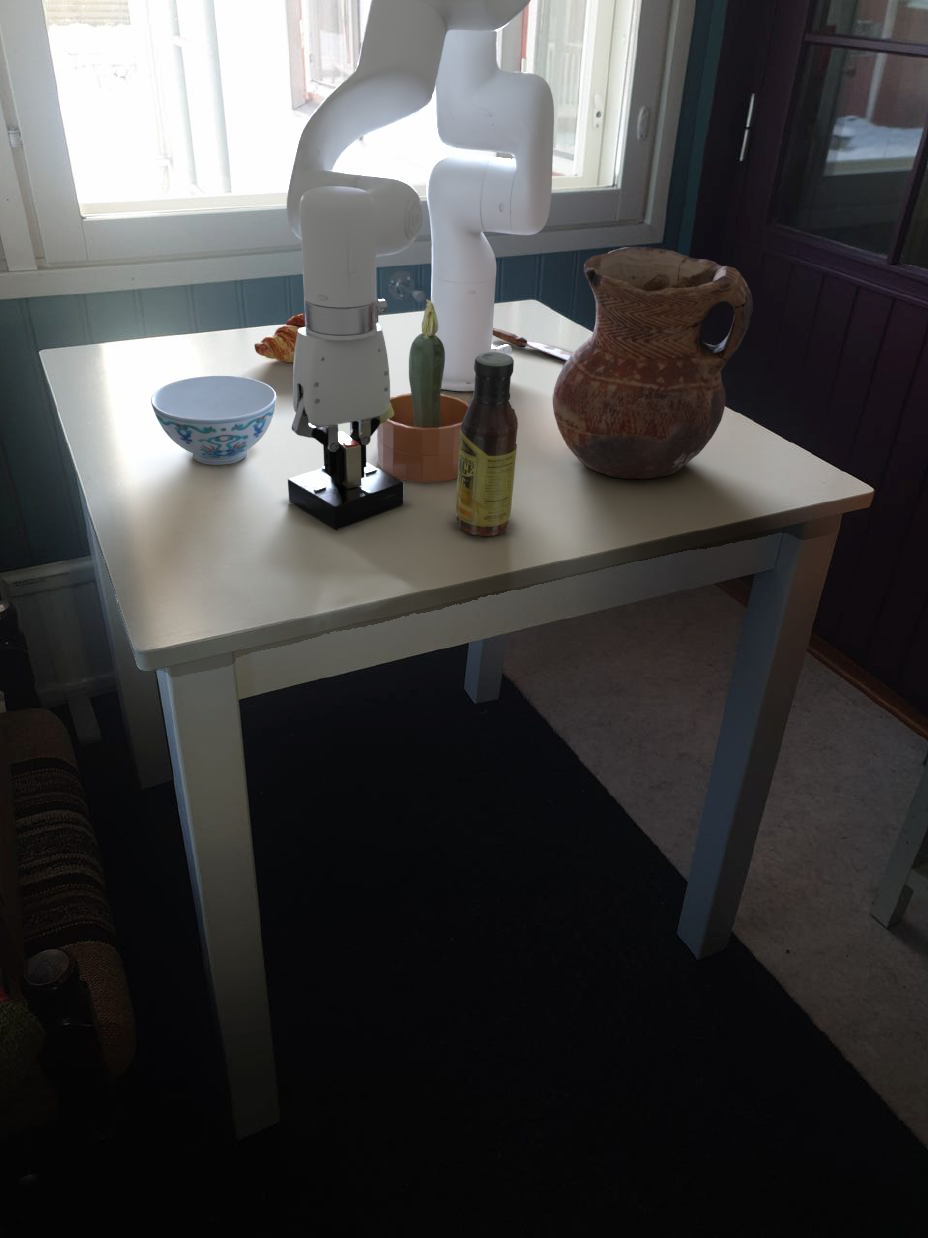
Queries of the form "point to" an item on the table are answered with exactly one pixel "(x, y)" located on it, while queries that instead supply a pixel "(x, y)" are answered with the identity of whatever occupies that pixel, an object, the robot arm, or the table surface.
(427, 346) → the vegetable
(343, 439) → the hob knob
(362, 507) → the panel
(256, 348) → the croissant
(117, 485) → the table surface
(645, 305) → the jug
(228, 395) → the chinaware
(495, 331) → the kitchen knife
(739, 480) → the table surface
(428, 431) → the terracotta pot
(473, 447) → the sauce bottle
